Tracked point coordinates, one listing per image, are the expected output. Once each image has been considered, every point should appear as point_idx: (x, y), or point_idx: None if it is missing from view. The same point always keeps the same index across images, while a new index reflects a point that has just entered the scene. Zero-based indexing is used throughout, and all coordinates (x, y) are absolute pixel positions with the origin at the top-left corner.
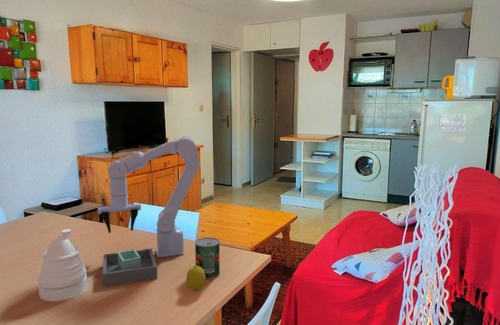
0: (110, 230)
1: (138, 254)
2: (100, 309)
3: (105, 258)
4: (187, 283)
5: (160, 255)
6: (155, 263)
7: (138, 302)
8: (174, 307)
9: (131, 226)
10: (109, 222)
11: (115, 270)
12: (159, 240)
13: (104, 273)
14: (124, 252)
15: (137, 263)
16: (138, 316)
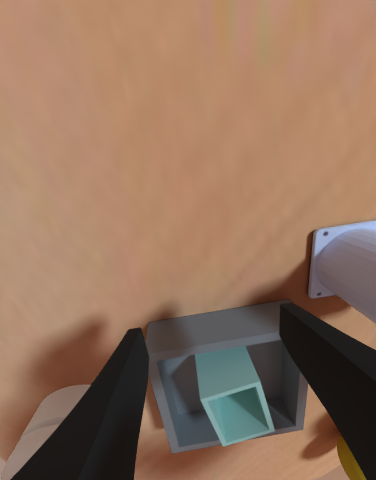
0: (146, 373)
1: (270, 416)
2: (182, 464)
3: (157, 382)
4: (341, 462)
5: (319, 291)
6: (303, 416)
7: (242, 452)
8: (294, 462)
9: (302, 369)
10: (124, 442)
11: (189, 369)
12: (370, 318)
13: (175, 450)
14: (223, 392)
15: (256, 412)
16: (241, 475)
